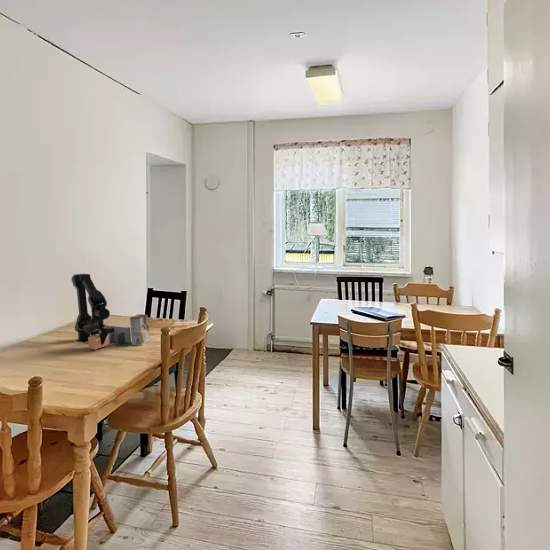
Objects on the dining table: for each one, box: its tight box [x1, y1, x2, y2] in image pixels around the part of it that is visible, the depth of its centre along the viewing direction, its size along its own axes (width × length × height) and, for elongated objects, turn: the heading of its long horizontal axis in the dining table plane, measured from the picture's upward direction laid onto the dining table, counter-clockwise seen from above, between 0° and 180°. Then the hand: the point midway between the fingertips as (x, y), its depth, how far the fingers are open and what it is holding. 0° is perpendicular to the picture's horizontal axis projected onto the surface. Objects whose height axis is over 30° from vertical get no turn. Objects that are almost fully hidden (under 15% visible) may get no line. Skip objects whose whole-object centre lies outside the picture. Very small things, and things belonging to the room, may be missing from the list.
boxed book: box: [88, 334, 110, 350], centre depth 228 cm, size 5×10×6 cm, turn 155°
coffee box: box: [129, 313, 151, 346], centre depth 237 cm, size 9×6×16 cm
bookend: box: [115, 332, 130, 346], centre depth 236 cm, size 5×5×6 cm
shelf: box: [99, 324, 132, 344], centre depth 240 cm, size 19×7×9 cm, turn 65°
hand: (99, 344), depth 229 cm, fingers closed on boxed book, 4 cm apart
